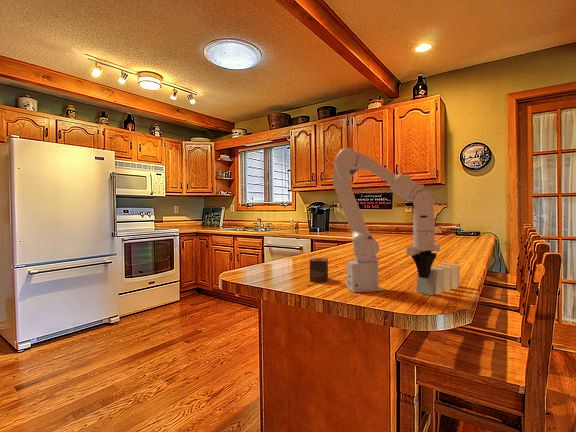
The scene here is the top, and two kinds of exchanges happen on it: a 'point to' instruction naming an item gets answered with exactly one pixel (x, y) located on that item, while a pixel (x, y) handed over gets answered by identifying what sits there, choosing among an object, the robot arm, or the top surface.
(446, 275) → the domino
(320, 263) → the box
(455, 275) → the domino
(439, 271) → the domino
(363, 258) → the robot arm
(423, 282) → the domino
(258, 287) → the top surface
